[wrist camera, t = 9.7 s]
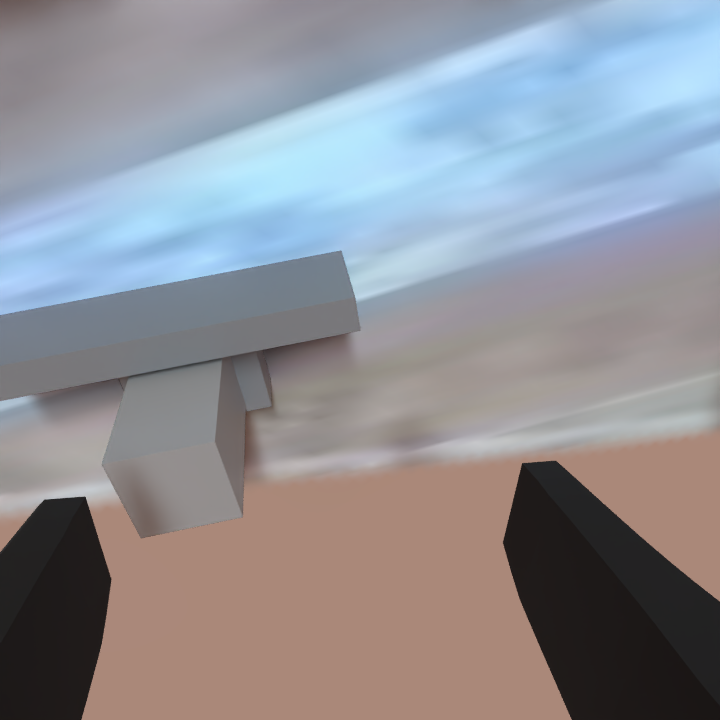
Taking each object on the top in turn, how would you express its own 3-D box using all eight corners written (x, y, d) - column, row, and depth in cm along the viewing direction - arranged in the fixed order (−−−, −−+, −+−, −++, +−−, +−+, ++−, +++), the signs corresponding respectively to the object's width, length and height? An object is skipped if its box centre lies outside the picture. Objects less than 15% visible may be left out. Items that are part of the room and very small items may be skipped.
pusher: (341, 250, 18) (374, 362, 13) (360, 361, 20) (394, 493, 15) (-1, 315, 17) (-105, 457, 12) (58, 420, 19) (-10, 576, 14)
